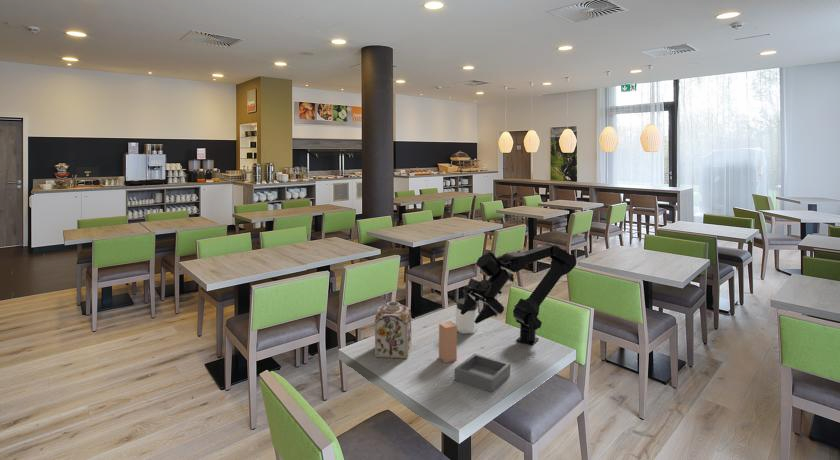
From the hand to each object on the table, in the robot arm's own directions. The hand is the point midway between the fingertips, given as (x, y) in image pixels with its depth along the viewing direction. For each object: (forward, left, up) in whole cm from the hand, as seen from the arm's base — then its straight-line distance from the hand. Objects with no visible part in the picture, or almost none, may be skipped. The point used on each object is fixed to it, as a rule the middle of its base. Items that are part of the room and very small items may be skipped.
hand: (468, 318), depth 161 cm
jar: (-19, -11, -14) cm, 26 cm away
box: (+12, +12, -13) cm, 22 cm away
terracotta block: (+7, -4, -13) cm, 16 cm away
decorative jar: (+13, -23, -14) cm, 30 cm away
